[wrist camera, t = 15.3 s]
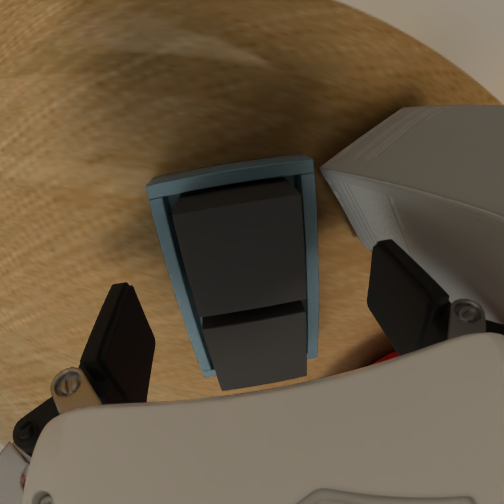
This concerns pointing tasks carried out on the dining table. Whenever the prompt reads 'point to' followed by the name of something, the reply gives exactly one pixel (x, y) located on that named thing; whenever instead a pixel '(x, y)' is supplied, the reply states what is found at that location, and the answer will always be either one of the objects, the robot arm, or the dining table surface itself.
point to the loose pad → (242, 245)
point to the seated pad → (257, 345)
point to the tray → (171, 186)
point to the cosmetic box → (433, 195)
